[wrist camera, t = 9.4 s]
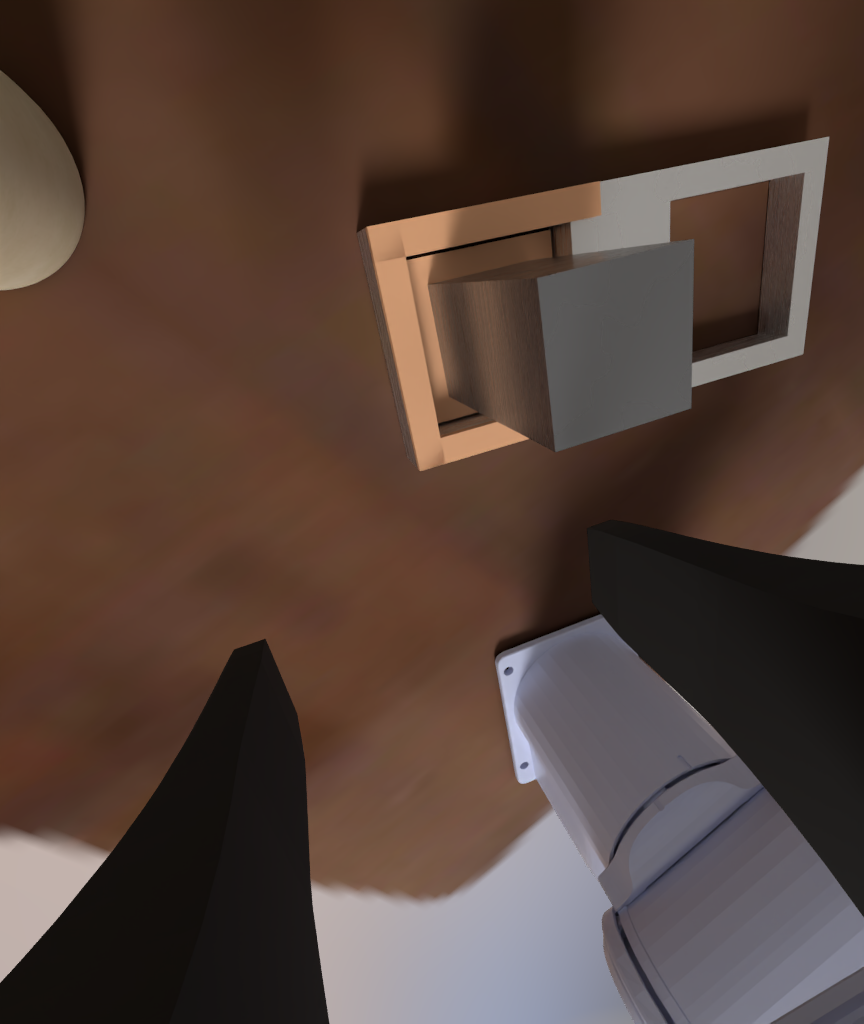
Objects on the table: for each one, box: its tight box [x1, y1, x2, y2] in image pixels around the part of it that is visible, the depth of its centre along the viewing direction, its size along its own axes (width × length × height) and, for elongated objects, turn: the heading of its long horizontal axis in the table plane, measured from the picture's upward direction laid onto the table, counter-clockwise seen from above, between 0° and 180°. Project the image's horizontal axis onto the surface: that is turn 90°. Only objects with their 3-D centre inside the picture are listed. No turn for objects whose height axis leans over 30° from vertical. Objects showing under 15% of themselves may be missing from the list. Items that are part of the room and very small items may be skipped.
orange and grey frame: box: [357, 137, 829, 468], centre depth 20 cm, size 8×18×2 cm, turn 102°
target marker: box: [365, 181, 601, 471], centre depth 19 cm, size 8×8×2 cm
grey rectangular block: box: [428, 239, 694, 452], centre depth 16 cm, size 4×4×8 cm
